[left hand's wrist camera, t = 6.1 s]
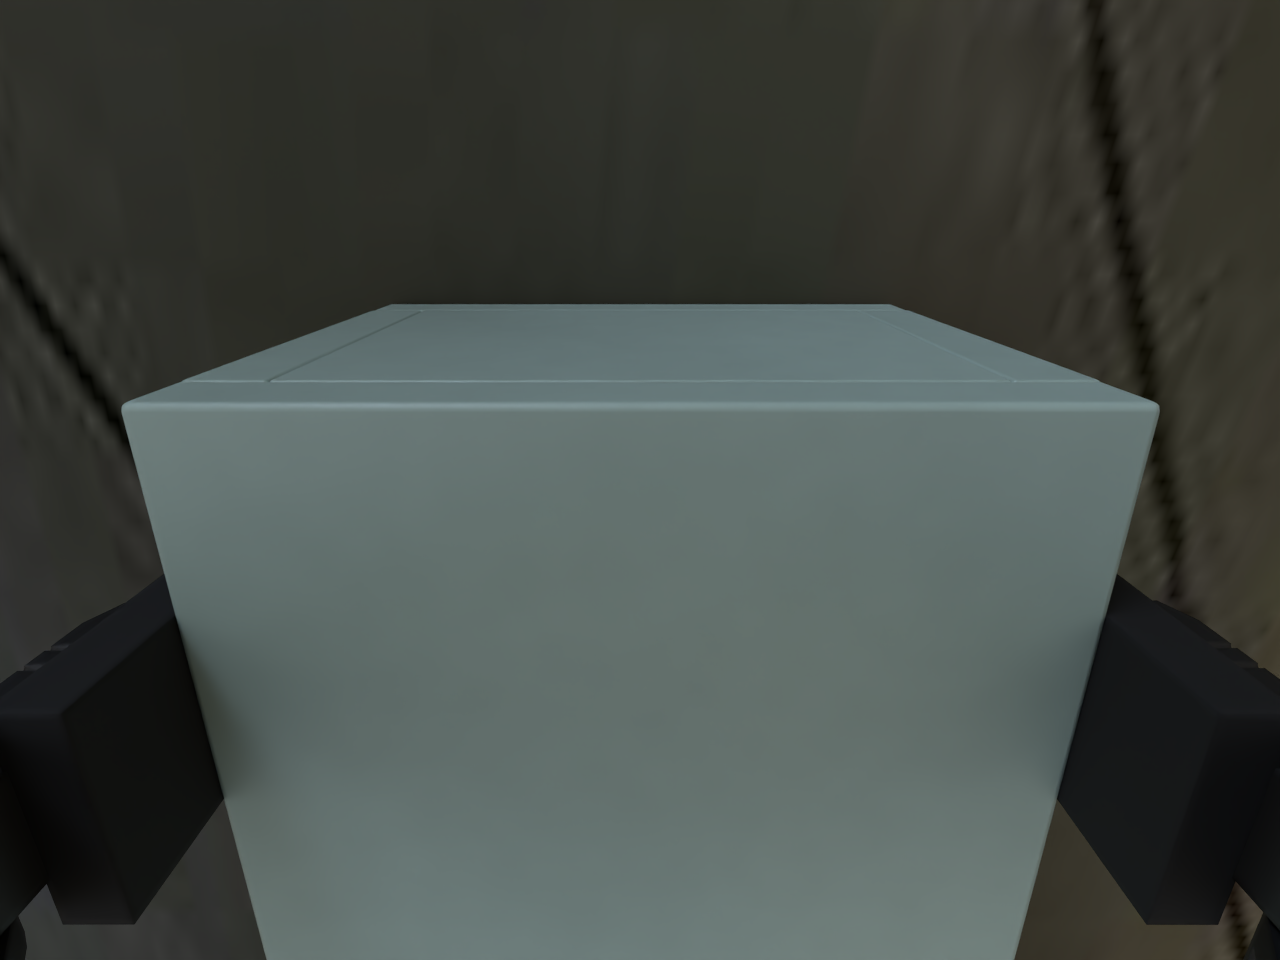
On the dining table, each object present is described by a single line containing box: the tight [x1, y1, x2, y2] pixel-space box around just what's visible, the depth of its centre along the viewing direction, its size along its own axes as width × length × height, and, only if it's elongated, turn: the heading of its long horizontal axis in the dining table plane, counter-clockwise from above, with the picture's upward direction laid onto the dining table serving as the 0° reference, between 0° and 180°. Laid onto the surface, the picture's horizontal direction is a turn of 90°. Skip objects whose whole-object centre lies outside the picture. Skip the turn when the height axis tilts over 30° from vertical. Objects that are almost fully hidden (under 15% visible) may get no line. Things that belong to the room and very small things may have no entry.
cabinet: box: [122, 304, 1160, 960], centre depth 15 cm, size 20×11×8 cm, turn 0°
